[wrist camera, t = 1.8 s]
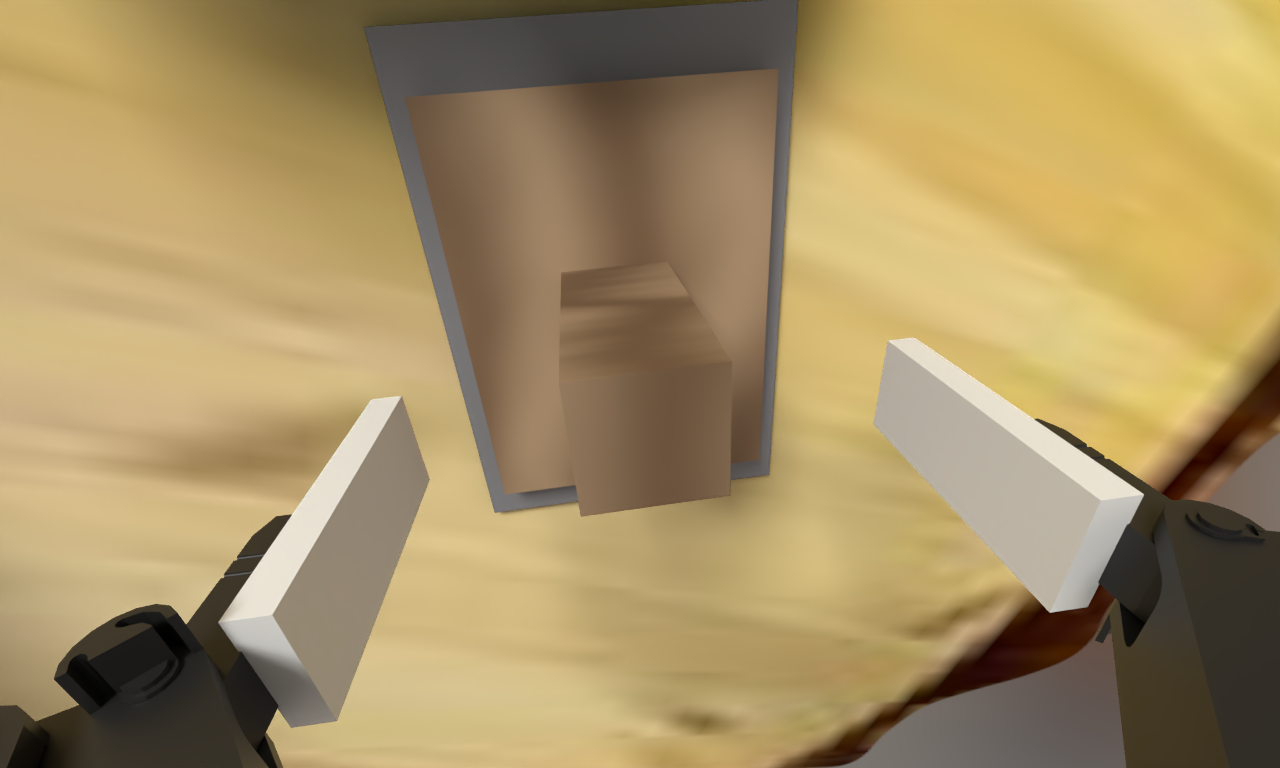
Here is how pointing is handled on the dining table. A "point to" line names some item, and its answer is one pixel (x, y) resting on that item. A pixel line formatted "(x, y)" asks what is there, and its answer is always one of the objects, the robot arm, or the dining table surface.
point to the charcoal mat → (579, 56)
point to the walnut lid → (611, 276)
